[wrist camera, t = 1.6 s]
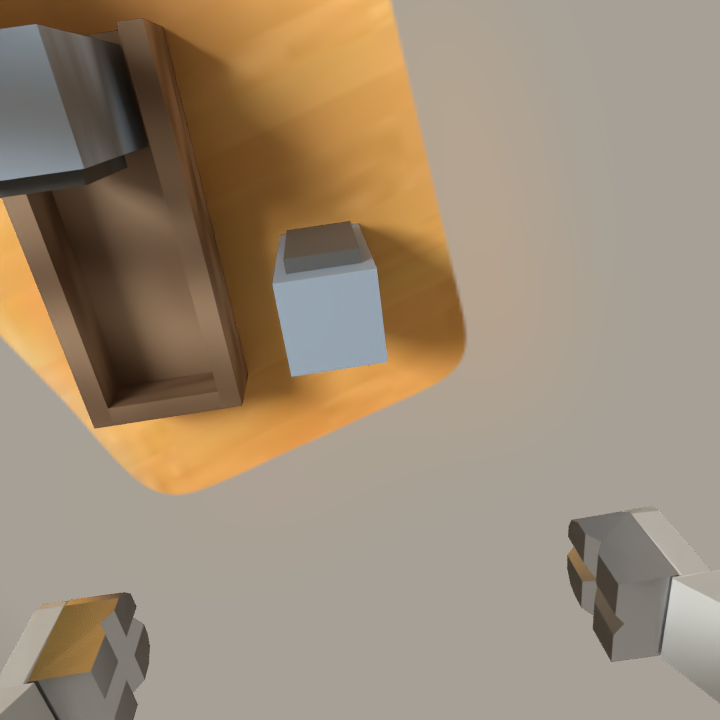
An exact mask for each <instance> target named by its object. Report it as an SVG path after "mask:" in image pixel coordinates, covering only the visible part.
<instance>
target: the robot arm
mask: <svg viewBox="0 0 720 720" xmlns="http://www.w3.org/2000/svg"><path fill="white" fill-rule="evenodd" d="M568 537H569V539H570V541H571V542H572V544H573V546H574V547H573V549H572V550H571V551H570V552H569V554H568V555H567V569H568V574H569V579H570V584H571V587H572V589H573V592H574V594H575V597H576V598H577V600H578V602H579V604H580V606H581V608H583V609H584V610H586V611H587V612H589V613H591V614H592V615H594V616H593V630H594V632H595V633H596V635H597V637H598V639H599V641H600V643H601V644H602V646H603V648H604V650H605V651H606V653H607V655H608V657H609V659H610V661H611V662H615V661H622V660H630V659H637V658H644V657H651V656H658V655H661V659H662V660H664V661H665V662H666V663H668V664H669V665H670V666H672V667H673V668H674V669H676V670H677V671H678V672H680V673H681V674H682V675H683V676H685V677H686V678H687V679H689V680H690V681H691V682H693V683H694V684H695V685H697V686H698V687H699V688H701V689H702V690H703V691H704V692H706V693H707V694H708V695H710V696H711V697H712V698H714V699H715V700H716V701H718V702H719V703H720V570H715V571H712V570H711V569H710V568H709V567H708V566H707V565H706V564H705V562H704V561H703V560H702V559H701V558H700V557H699V556H698V554H697V553H696V552H695V551H694V550H693V549H692V548H691V546H689V544H688V543H687V542H686V541H685V540H684V539H683V537H682V536H681V535H680V534H679V533H678V532H677V531H676V530H675V529H674V527H673V526H672V525H671V524H670V523H669V522H668V521H667V519H666V518H665V517H664V516H663V515H662V514H661V513H660V512H659V511H658V509H656V508H654V507H652V506H649V507H643V508H637V509H632V510H626V511H624V512H622V511H621V512H616V513H610V514H604V515H598V516H592V517H587V518H581V519H574V520H571V522H570V525H569V530H568ZM135 610H136V604H135V602H134V600H133V598H132V596H131V594H130V593H125V592H124V593H117V594H109V595H102V596H94V597H87V598H80V599H73V600H70V601H62V602H55V603H47V604H43V605H41V606H40V607H39V608H38V609H36V611H35V612H34V614H33V615H32V617H31V619H30V621H29V622H28V624H27V626H26V628H25V630H24V632H23V634H22V636H21V638H20V639H19V641H18V643H17V645H16V647H15V648H14V650H13V652H12V654H11V656H10V658H9V659H8V661H7V663H6V665H5V667H4V669H3V670H2V672H1V674H0V720H133V719H134V716H135V712H136V709H137V705H138V704H137V702H136V699H135V697H134V695H133V692H134V691H135V690H136V689H137V688H138V687H139V685H140V684H141V683H142V682H143V681H144V680H145V677H146V673H147V669H148V665H149V652H150V644H149V638H148V633H147V631H146V628H145V626H144V624H143V623H141V622H139V621H138V620H136V619H135V618H133V616H134V613H135Z"/></svg>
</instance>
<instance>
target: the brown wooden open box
mask: <svg viewBox="0 0 720 720" xmlns="http://www.w3.org/2000/svg"><path fill="white" fill-rule="evenodd" d="M116 24H117V27H118V30H116V31H109V32H102V33H94V34H87V35H79V34H75V33H71V32H67V31H63V30H59V29H55V28H51V27H47V26H43V25H39V24H33V25H25V26H18V27H11V28H3V29H0V198H2V200H3V202H4V205H5V207H6V210H7V212H8V215H9V217H10V219H11V222H12V224H13V227H14V229H15V232H16V234H17V237H18V239H19V242H20V244H21V247H22V249H23V252H24V254H25V257H26V259H27V262H28V264H29V267H30V269H31V272H32V274H33V277H34V279H35V282H36V284H37V287H38V289H39V292H40V294H41V297H42V299H43V302H44V304H45V307H46V309H47V312H48V314H49V317H50V319H51V321H52V324H53V326H54V329H55V331H56V334H57V336H58V339H59V341H60V344H61V346H62V349H63V351H64V354H65V356H66V359H67V361H68V364H69V366H70V369H71V371H72V374H73V376H74V379H75V381H76V384H77V386H78V389H79V391H80V394H81V396H82V399H83V401H84V404H85V406H86V409H87V411H88V414H89V416H90V419H91V421H92V423H93V426H94V428H101V427H108V426H114V425H121V424H127V423H133V422H140V421H146V420H153V419H159V418H166V417H172V416H178V415H185V414H191V413H198V412H204V411H211V410H217V409H224V408H230V407H236V406H242V404H243V399H244V393H245V388H246V383H247V378H248V372H247V368H246V364H245V360H244V356H243V352H242V348H241V344H240V340H239V336H238V332H237V327H236V323H235V319H234V315H233V311H232V307H231V303H230V299H229V295H228V291H227V286H226V282H225V278H224V274H223V270H222V266H221V262H220V258H219V254H218V250H217V245H216V241H215V237H214V233H213V229H212V225H211V221H210V217H209V213H208V209H207V205H206V200H205V196H204V192H203V188H202V184H201V180H200V176H199V172H198V168H197V164H196V159H195V155H194V151H193V147H192V143H191V139H190V135H189V131H188V127H187V123H186V119H185V114H184V110H183V106H182V102H181V98H180V94H179V90H178V86H177V82H176V78H175V73H174V69H173V65H172V61H171V57H170V53H169V49H168V45H167V41H166V37H165V32H164V28H163V27H162V26H159V25H157V24H155V23H153V22H150V21H148V20H146V19H144V18H140V19H132V20H125V21H118V22H116Z"/></svg>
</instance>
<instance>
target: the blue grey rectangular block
mask: <svg viewBox="0 0 720 720" xmlns="http://www.w3.org/2000/svg"><path fill="white" fill-rule="evenodd" d="M272 285H273V290H274V295H275V300H276V305H277V310H278V315H279V319H280V324H281V329H282V334H283V339H284V344H285V349H286V353H287V358H288V363H289V368H290V373H291V377H294V376H300V375H307V374H313V373H319V372H326V371H332V370H339V369H345V368H352V367H358V366H365V365H371V364H378V363H384V362H388V359H387V351H386V342H385V333H384V325H383V316H382V308H381V299H380V291H379V282H378V274H377V267H376V265H375V263H374V260H373V258H372V255H371V253H370V250H369V248H368V245H367V243H366V241H365V238H364V236H363V233H362V231H361V228H360V226H359V223H357V224H351V223H350V221H348V222H341V223H334V224H328V225H321V226H314V227H307V228H301V229H294V230H287V233H286V234H282V235H280V240H279V246H278V252H277V258H276V264H275V270H274V276H273V282H272Z"/></svg>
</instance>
